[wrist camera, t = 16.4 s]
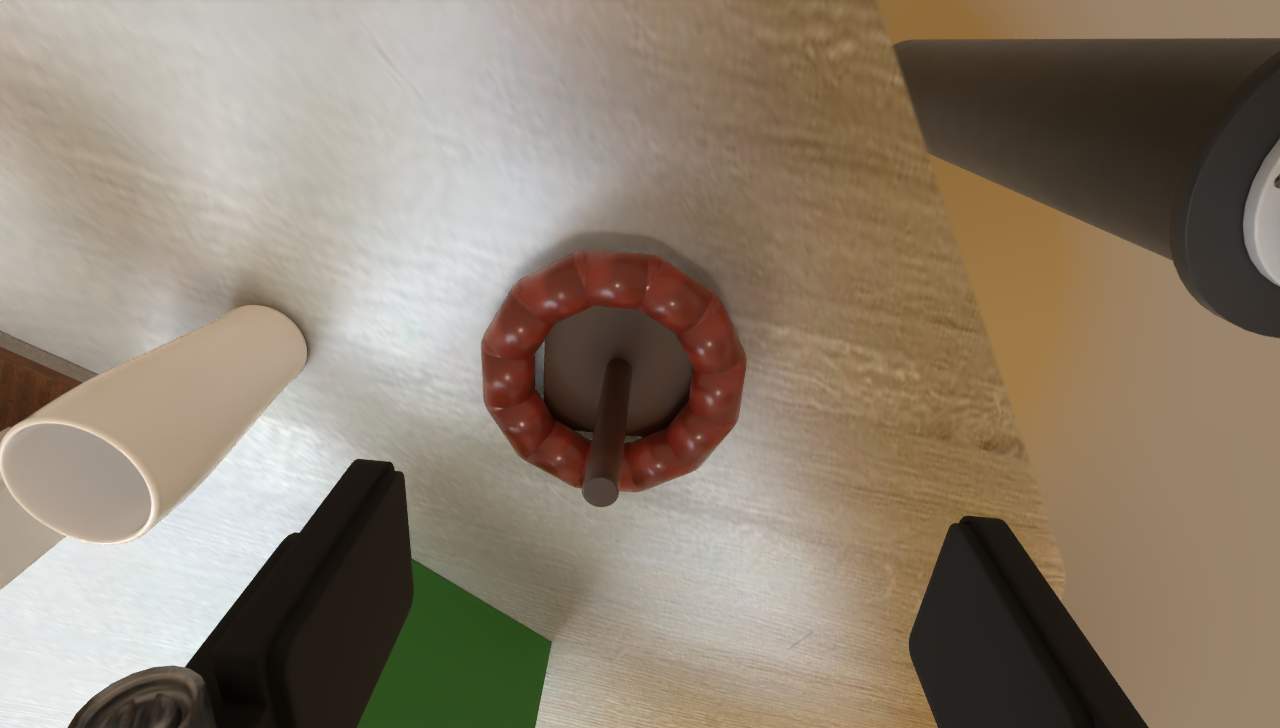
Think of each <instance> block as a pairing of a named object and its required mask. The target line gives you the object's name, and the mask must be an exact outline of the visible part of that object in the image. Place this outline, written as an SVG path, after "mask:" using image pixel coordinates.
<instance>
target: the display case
mask: <svg viewBox="0 0 1280 728" xmlns="http://www.w3.org/2000/svg"><path fill="white" fill-rule="evenodd" d="M95 376H97V374H95V373H93V372H91V371H88V370H86V369H84V368H81V367H79V366H77V365H75V364H72V363H70V362H68V361H66V360H63V359H61V358H59V357H57V356H54V355H52V354H50V353H47V352H45V351H43V350H41V349H38V348H36V347H34V346H32V345H29V344H27V343H25V342H23V341H20V340H18V339H16V338H14V337H11V336H9V335H7V334H4V333H2V332H0V442H1V440H2V439H3V437H4V435H5V434H6V433H7V432H8V431H9V430H10V429H11V428H12V427H13V426H14V425H16V424H17V423H19V422H21V421H22V420H24V419H25V418H27V417H28V416H30V415H31V414H33V413H34V412H36V411H37V410H39V409H40V408H42V407H43V406H45V405H46V404H48V403H49V402H51V401H53V400H54V399H56V398H57V397H59V396H61V395H62V394H64V393H66V392H67V391H69V390H71V389H73V388H74V387H76V386H78V385H80V384H82V383H84V382H85V381H87V380H89V379H91V378H93V377H95ZM64 537H66V536H65V535H62V534H60V533H58V532H56V531H54V530H52V529H50V528H48V527H47V526H45V525H44V524H42V523H41V522H39V521H38V520H36V519H35V518H34V517H32V516H31V515H30V514H29V513H28V512H27V511H26V510H24V509H23V508H22V507H21V506H20V504H19V503H18V502H17V501H16V500H15V499H14V497H13V496H12V495H11V493H10V492H9V490H8V489H7V487H6V485H5V483H4V481H3V479H2V477H1V474H0V590H1V589H2V588H3V587H5V586H6V585H7V584H8V583H10V582H11V581H12V580H13V579H14V578H16V577H17V576H18V575H19V574H21V573H22V572H23V571H24V570H25V569H27V568H28V567H29V566H30V565H32V564H33V563H34V562H35V561H36V560H38V559H39V558H40V557H41V556H42V555H44V554H45V553H46V552H47V551H49V550H50V549H51V548H52V547H53V546H55V545H56V544H57V543H58V542H60V541H61V540H62V539H63V538H64Z"/></svg>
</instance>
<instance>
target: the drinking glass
mask: <svg viewBox="0 0 1280 728" xmlns="http://www.w3.org/2000/svg"><path fill="white" fill-rule="evenodd" d="M306 360H307V346H306V342H305V339H304V337H303V335H302V333H301V331H300V330H299V328H298V327H297V326H296V324H295V323H294V322H293V321H292V320H291V319H289V318H288V317H287V316H286V315H284V314H283V313H281V312H279V311H277V310H275V309H272V308H270V307H266V306H261V305H246V306H242V307H238V308H236V309H234V310H232V311H230V312H228V313H227V314H225V315H223V316H222V317H220V318H218V319H217V320H215V321H213V322H211V323H208V324H206V325H204V326H202V327H200V328H198V329H196V330H194V331H191V332H189V333H187V334H185V335H183V336H181V337H179V338H176V339H174V340H172V341H170V342H168V343H166V344H163V345H161V346H159V347H157V348H155V349H153V350H150V351H148V352H146V353H144V354H142V355H139V356H137V357H135V358H133V359H131V360H128V361H126V362H124V363H122V364H120V365H118V366H115V367H113V368H111V369H109V370H107V371H105V372H103V373H101V374H99V375H97V376H95V377H93V378H91V379H89V380H87V381H85V382H84V383H82V384H80V385H78V386H76V387H74V388H73V389H71V390H69V391H67V392H66V393H64V394H62V395H61V396H59V397H57V398H56V399H54V400H53V401H51V402H49V403H48V404H46V405H45V406H43V407H42V408H40V409H39V410H37V411H36V412H34V413H33V414H31V415H30V416H28V417H27V418H25V419H24V420H22V421H21V422H19V423H17V424H16V425H14V426H13V427H12V428H11V429H10V430H9V431H8V432H7V433H6V434H5V435H4V437H3V439H2V440H1V442H0V474H1V477H2V479H3V481H4V483H5V485H6V487H7V489H8V490H9V492H10V493H11V495H12V496H13V497H14V499H15V500H16V501H17V502H18V503H19V504H20V506H21V507H22V508H23V509H24V510H26V511H27V512H28V513H29V514H30V515H31V516H32V517H34V518H35V519H36V520H38V521H39V522H41V523H42V524H44V525H45V526H47V527H48V528H50V529H52V530H54V531H56V532H58V533H60V534H62V535H65V536H67V537H70V538H73V539H76V540H79V541H83V542H87V543H92V544H101V545H114V544H122V543H126V542H130V541H133V540H135V539H137V538H139V537H141V536H143V535H144V534H145V533H147V532H148V531H149V530H150V529H151V528H152V527H154V526H155V525H156V524H157V523H158V522H160V521H161V520H162V519H163V518H164V517H166V516H167V515H168V514H169V513H170V512H171V511H173V510H174V509H175V508H176V507H177V506H178V505H179V504H180V503H182V502H183V501H184V500H185V499H186V498H187V497H188V496H189V495H190V494H191V493H192V492H193V491H194V490H195V489H196V488H197V487H198V486H199V485H200V484H201V483H202V482H203V481H204V480H205V479H206V478H207V477H208V476H209V475H210V474H211V473H212V471H213V470H214V469H215V468H216V467H217V466H218V465H219V464H220V463H221V461H222V460H223V459H224V458H225V457H226V456H227V454H228V453H229V452H230V451H231V450H232V449H233V447H234V446H235V445H236V444H237V443H238V441H239V440H240V439H241V438H242V437H243V436H244V434H245V433H246V432H247V431H248V430H249V429H250V427H251V426H252V425H253V424H254V423H255V422H256V420H257V419H258V418H259V417H260V416H261V415H262V413H263V412H264V411H265V410H266V409H267V408H268V406H269V405H270V404H271V403H272V402H273V401H274V400H275V398H276V397H277V396H278V395H279V394H280V393H281V392H282V390H283V389H284V388H285V387H286V386H287V385H288V384H290V383H291V382H292V381H293V380H294V379H295V378H296V377H297V376H298V375H299V374H300V373H301V371H302V370H303V368H304V366H305V363H306Z"/></svg>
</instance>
